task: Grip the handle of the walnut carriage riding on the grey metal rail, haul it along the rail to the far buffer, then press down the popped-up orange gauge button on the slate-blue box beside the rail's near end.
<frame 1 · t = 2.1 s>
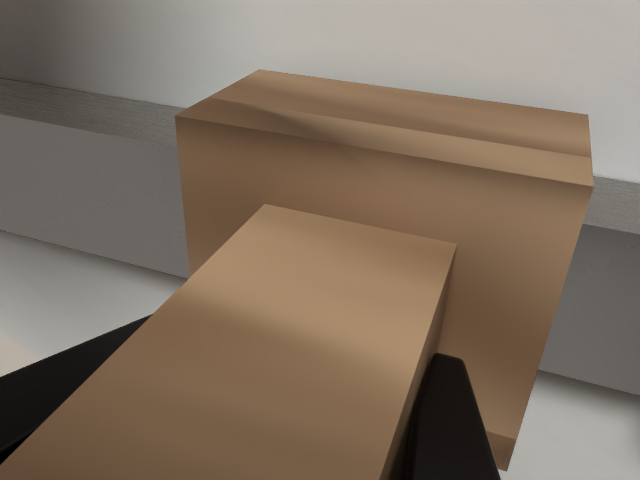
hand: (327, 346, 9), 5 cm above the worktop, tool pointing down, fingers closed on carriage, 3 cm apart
carriage: (323, 351, 8), point 5 cm above the worktop, slide at 0.0 cm, touching gripper
rail: (229, 178, 13), on the worktop
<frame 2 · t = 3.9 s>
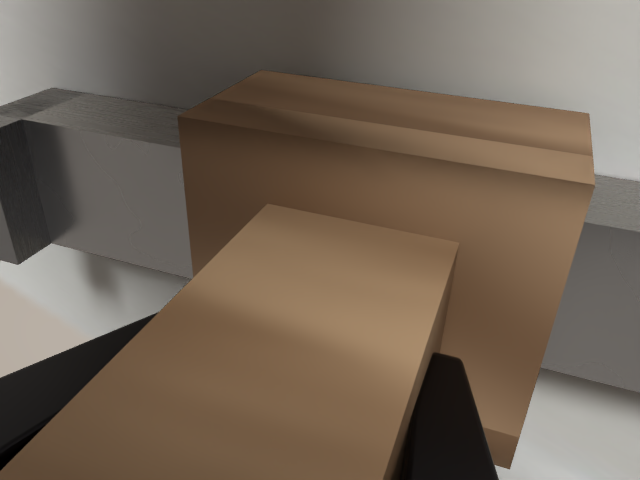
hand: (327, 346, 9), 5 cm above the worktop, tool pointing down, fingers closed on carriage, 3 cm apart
carriage: (326, 350, 8), point 5 cm above the worktop, slide at 6.3 cm, touching gripper
rail: (512, 233, 12), on the worktop
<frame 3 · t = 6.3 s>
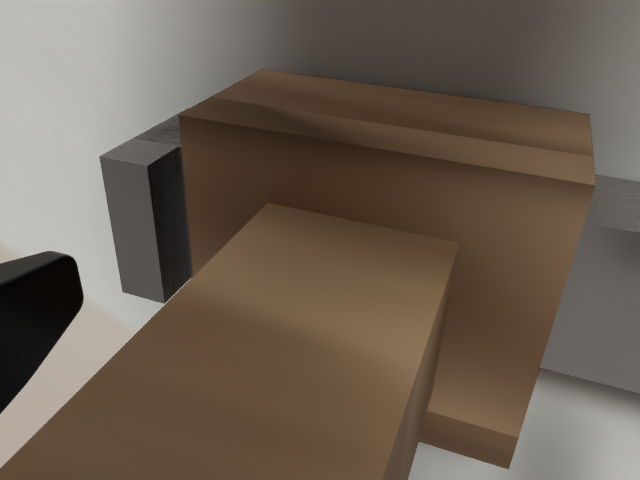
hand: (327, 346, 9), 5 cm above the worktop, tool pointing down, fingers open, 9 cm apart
carriage: (326, 349, 8), point 5 cm above the worktop, slide at 10.0 cm
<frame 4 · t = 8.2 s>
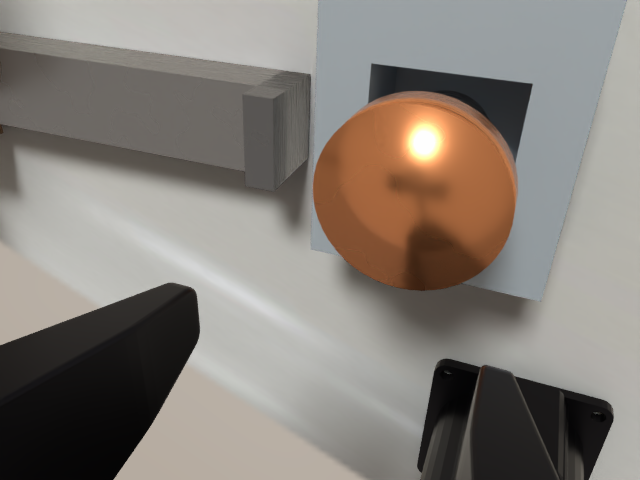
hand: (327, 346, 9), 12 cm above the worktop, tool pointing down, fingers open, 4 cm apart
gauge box: (458, 110, 18), on the worktop
rail: (53, 77, 23), on the worktop
gauge button: (428, 166, 14), point 5 cm above the worktop, slide at 0.0 cm
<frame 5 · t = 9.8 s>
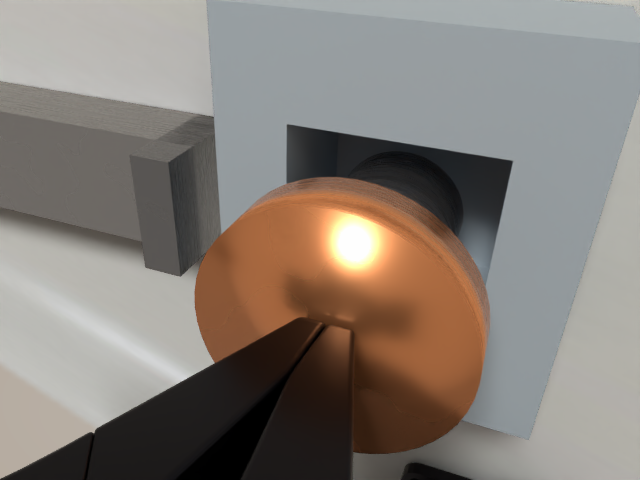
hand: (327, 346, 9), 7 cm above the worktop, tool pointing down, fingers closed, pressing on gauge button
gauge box: (421, 171, 14), on the worktop
gauge button: (369, 264, 10), point 4 cm above the worktop, slide at 0.4 cm, touching gripper
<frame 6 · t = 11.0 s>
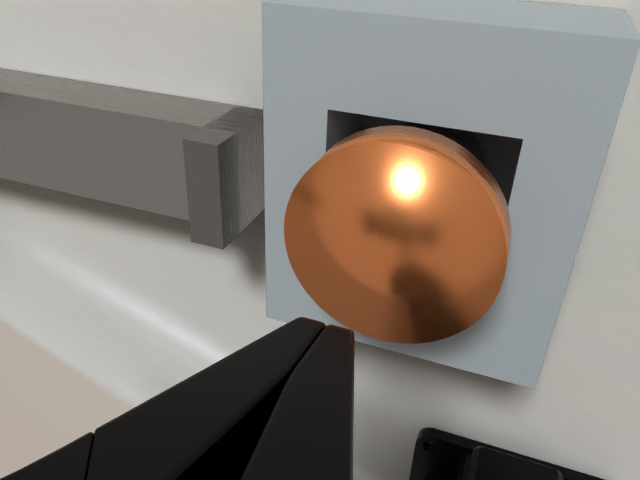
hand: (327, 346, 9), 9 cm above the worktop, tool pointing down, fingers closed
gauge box: (438, 155, 16), on the worktop
gauge button: (413, 203, 13), point 3 cm above the worktop, slide at 1.7 cm
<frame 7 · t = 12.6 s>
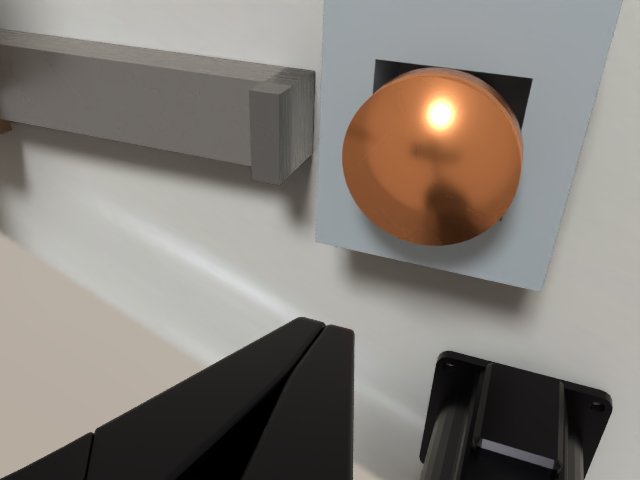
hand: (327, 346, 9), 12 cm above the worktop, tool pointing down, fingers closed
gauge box: (460, 106, 19), on the worktop
rail: (61, 74, 24), on the worktop
gauge button: (442, 137, 16), point 3 cm above the worktop, slide at 1.7 cm
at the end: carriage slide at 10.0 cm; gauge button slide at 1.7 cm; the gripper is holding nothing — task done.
